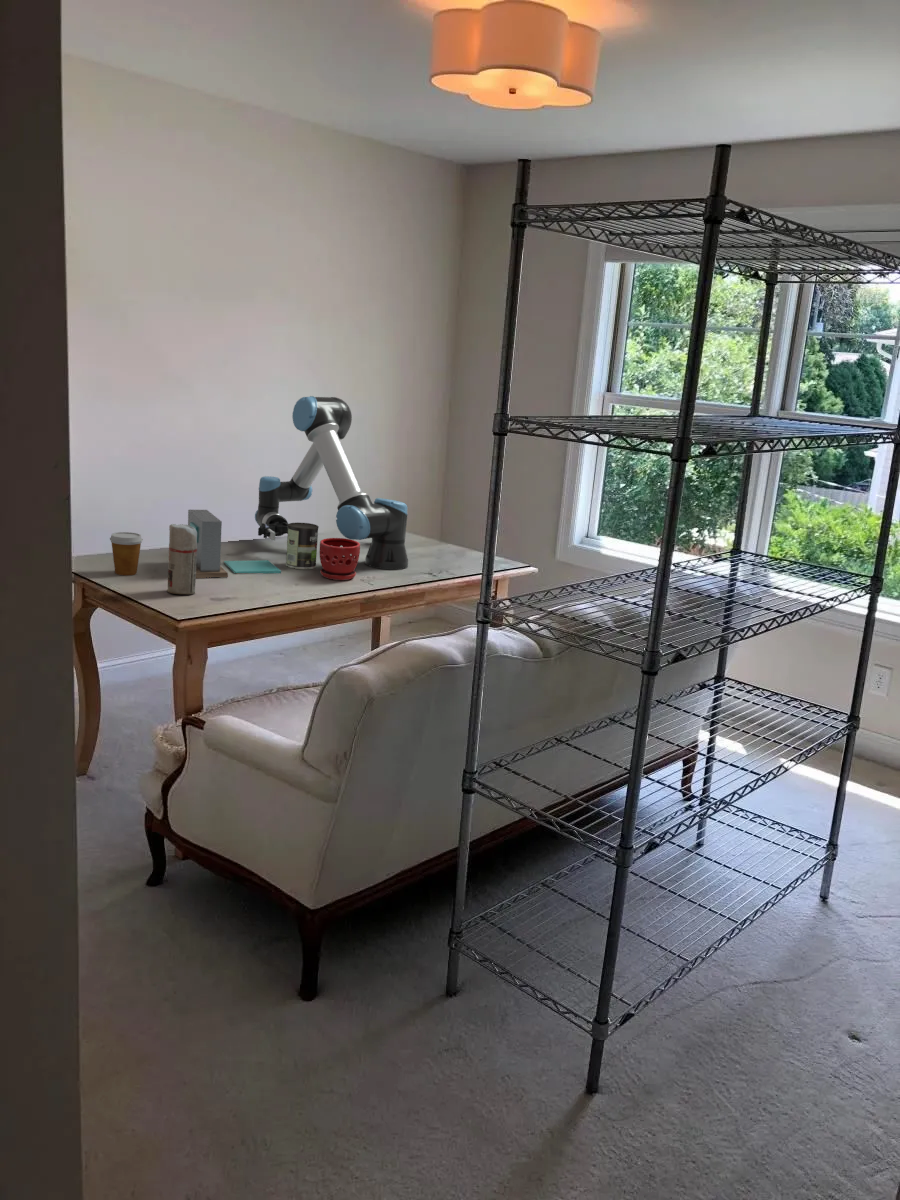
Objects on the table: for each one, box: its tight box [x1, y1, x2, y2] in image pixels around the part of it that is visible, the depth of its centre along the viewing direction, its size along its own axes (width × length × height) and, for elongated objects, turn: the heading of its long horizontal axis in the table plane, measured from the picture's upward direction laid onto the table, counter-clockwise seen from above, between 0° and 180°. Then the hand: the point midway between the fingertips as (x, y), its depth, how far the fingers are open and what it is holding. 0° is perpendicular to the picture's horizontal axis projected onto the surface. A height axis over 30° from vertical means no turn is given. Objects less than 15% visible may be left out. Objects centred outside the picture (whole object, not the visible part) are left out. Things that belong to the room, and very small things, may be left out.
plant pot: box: [319, 537, 361, 581], centre depth 322 cm, size 13×13×12 cm
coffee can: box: [285, 522, 319, 570], centre depth 332 cm, size 10×10×14 cm
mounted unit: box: [187, 509, 229, 579], centre depth 315 cm, size 24×10×18 cm, turn 26°
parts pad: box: [223, 559, 282, 574], centre depth 324 cm, size 15×15×1 cm
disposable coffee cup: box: [109, 531, 143, 577], centre depth 302 cm, size 10×10×12 cm
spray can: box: [166, 523, 197, 595], centre depth 285 cm, size 8×8×20 cm
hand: (293, 536), depth 340 cm, fingers open, 13 cm apart
